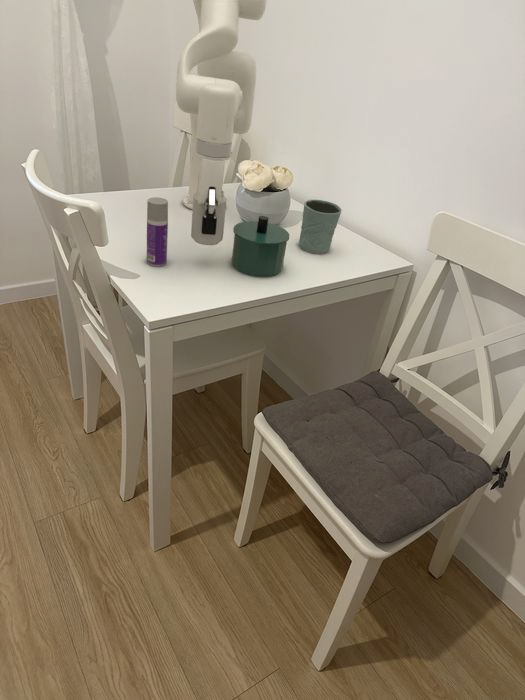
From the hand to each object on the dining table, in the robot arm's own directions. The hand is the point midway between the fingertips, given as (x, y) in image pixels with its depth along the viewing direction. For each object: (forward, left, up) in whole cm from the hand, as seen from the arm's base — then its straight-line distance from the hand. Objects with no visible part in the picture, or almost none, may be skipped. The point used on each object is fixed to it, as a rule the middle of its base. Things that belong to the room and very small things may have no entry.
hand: (207, 226), depth 119 cm
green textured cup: (-15, +31, -10) cm, 36 cm away
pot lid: (-1, +13, -1) cm, 13 cm away
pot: (-1, +13, -10) cm, 16 cm away
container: (+1, -11, -10) cm, 15 cm away
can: (0, 0, -4) cm, 4 cm away
